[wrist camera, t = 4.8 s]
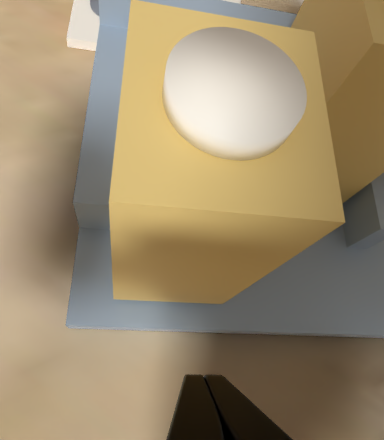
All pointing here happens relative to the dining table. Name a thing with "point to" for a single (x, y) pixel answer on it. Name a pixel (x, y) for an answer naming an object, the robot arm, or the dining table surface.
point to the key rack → (259, 291)
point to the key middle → (351, 83)
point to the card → (88, 24)
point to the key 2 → (216, 155)
